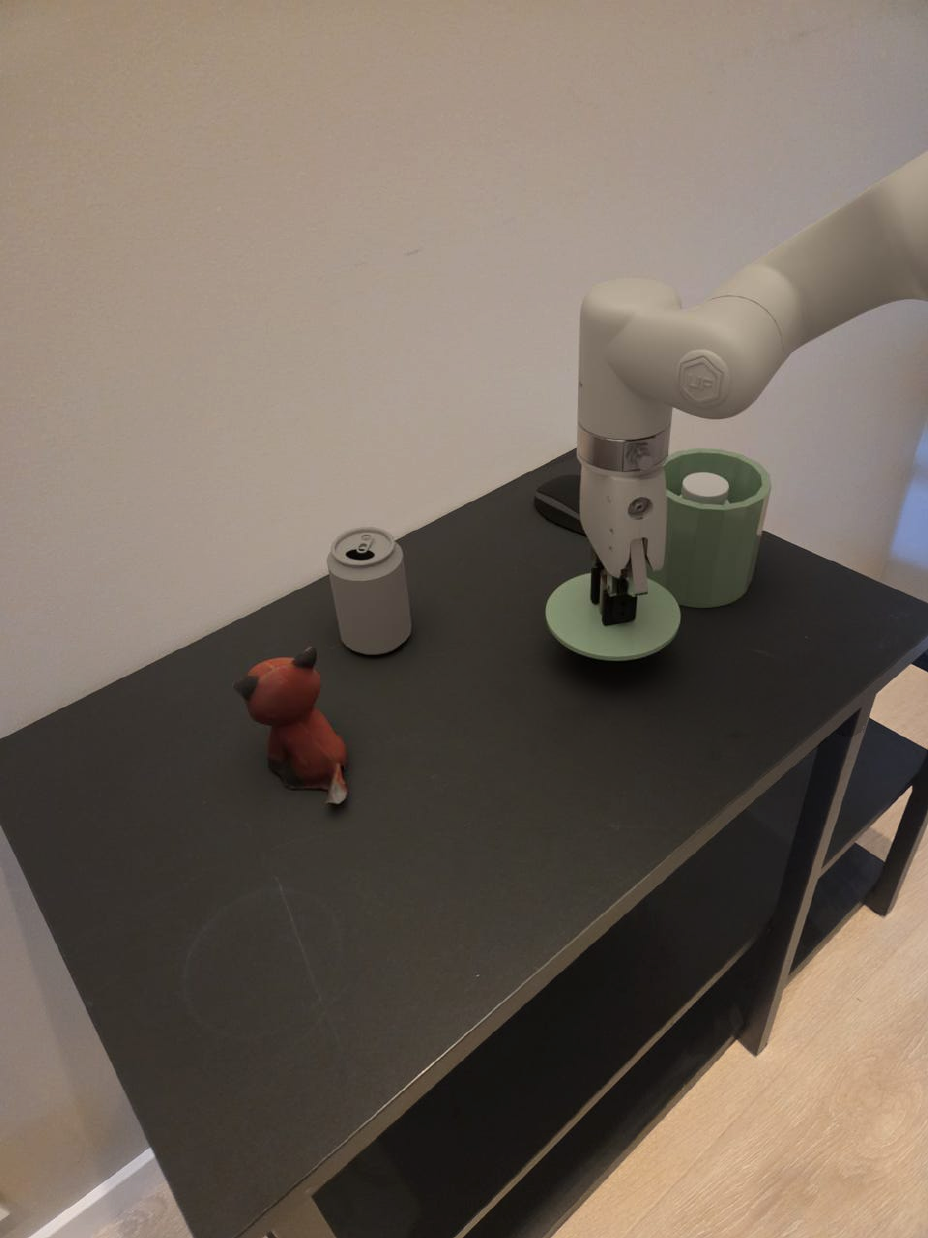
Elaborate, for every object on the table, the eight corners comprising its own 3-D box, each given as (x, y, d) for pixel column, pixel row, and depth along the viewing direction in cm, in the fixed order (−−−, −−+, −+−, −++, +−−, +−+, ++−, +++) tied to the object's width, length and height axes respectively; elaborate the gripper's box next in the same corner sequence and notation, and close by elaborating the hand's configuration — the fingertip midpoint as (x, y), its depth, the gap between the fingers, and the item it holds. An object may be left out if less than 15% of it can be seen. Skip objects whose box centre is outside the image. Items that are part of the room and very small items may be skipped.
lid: (650, 570, 90) (654, 524, 86) (701, 651, 80) (708, 603, 76) (530, 592, 88) (529, 546, 84) (568, 677, 78) (568, 629, 75)
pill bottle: (657, 579, 95) (668, 493, 88) (671, 548, 100) (682, 463, 92) (714, 591, 93) (730, 504, 86) (725, 559, 98) (741, 473, 90)
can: (331, 655, 89) (312, 562, 82) (355, 609, 95) (339, 517, 87) (400, 664, 88) (387, 570, 80) (420, 617, 93) (410, 524, 86)
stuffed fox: (312, 836, 72) (286, 741, 65) (244, 761, 79) (213, 666, 71) (384, 787, 76) (368, 690, 68) (313, 718, 83) (291, 623, 75)
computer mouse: (594, 546, 101) (596, 518, 99) (521, 506, 109) (521, 478, 106) (634, 522, 105) (636, 494, 102) (561, 484, 112) (561, 457, 109)
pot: (722, 536, 102) (738, 441, 94) (769, 597, 93) (792, 498, 85) (626, 552, 100) (635, 457, 92) (665, 616, 91) (678, 517, 83)
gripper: (707, 480, 66) (683, 658, 78) (631, 390, 78) (620, 556, 90) (612, 496, 65) (602, 674, 77) (551, 403, 77) (550, 568, 89)
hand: (612, 609), depth 83 cm, fingers closed on lid, 2 cm apart
